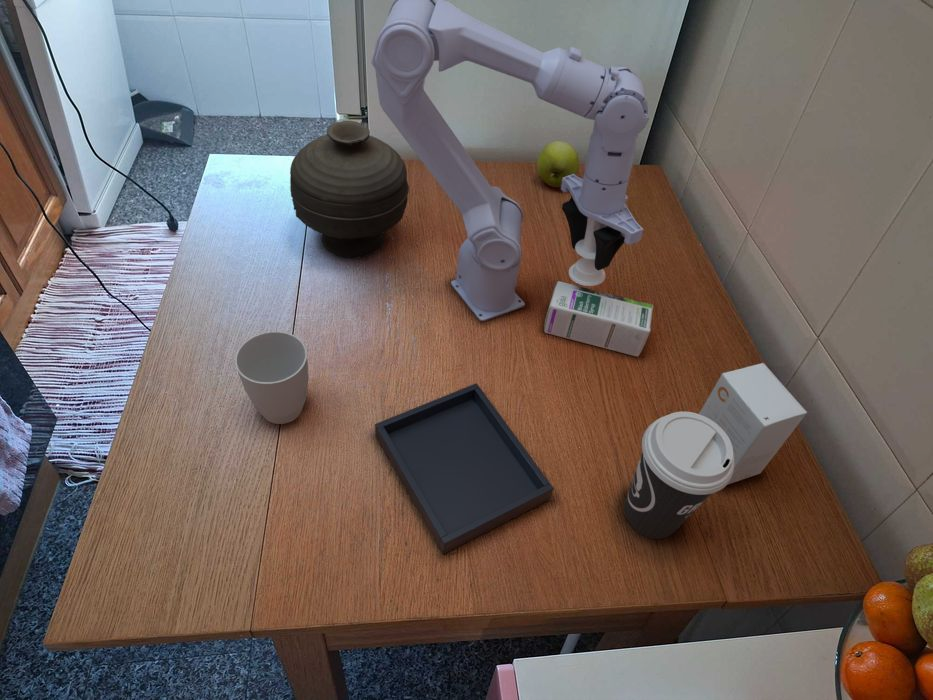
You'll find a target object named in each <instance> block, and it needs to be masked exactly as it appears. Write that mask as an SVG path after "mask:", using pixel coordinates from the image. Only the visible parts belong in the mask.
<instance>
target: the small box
mask: <svg viewBox="0 0 933 700" xmlns="http://www.w3.org/2000/svg"><path fill="white" fill-rule="evenodd" d="M698 414H700V415H702V416H705V417H707V418H709V419H710V420H712V421H713V422H715V423H716V424H717V425H719V426H720V427H721V428H722V429H723V430H724V432H725V433H726V434H727V436H728V437H729V439H730V441H731V444H732V447H733V454H734V471H733V475H732V478H731V480H730V481H729V483H728V484H727V485H731V484H733V483H736V482H739V481H740V482H741V481H743V480H746V479H748V478H751V477H754V476H757V475H760V474H761V473H762V472H763V471H764V470H765V468H766V467H767V466H768V464H769V463H770V462H771V460H772V459H773V458H774V457H775V455H776V454H777V453H778V452H779V451H780V449H781V448H782V447H783V445H784V444H785V442H786V441H787V440H788V439H789V437H790V436H791V435H792V433H793V432H794V431H795V429H796V428H797V427H798V425H799V424H800V423H801V422H802V420H803V419H804V418H805V416H806V415H807V414H808V411H807V410H806V409H805V408H804V407H803V406H802V405H801V404H800V403H799V401H798V400H797V399H796V398H795V397H794V396H793V395H792V393H791V392H790V391H789V390H788V389H787V388H786V387H785V386H784V384H783V383H782V382H781V381H780V380H779V379H778V378H777V376H776V375H775V374H774V373H773V371H772V370H770V368H769V367H768V366H767V364H765V363H764V362H760V363H757V364H754V365H749V366H746V367H742V368H738V369H734V370H730V371H726V372H722V373H721V375H720V377H719V378H718V380H717V382H716V383H715V385H714V386H713V389H712V391H711V392H710V394H709V396H708V397H707V398H706V401H704V404H703V406H702V407H701V409H700V411H699V413H698ZM727 485H726V486H727Z"/></svg>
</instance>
